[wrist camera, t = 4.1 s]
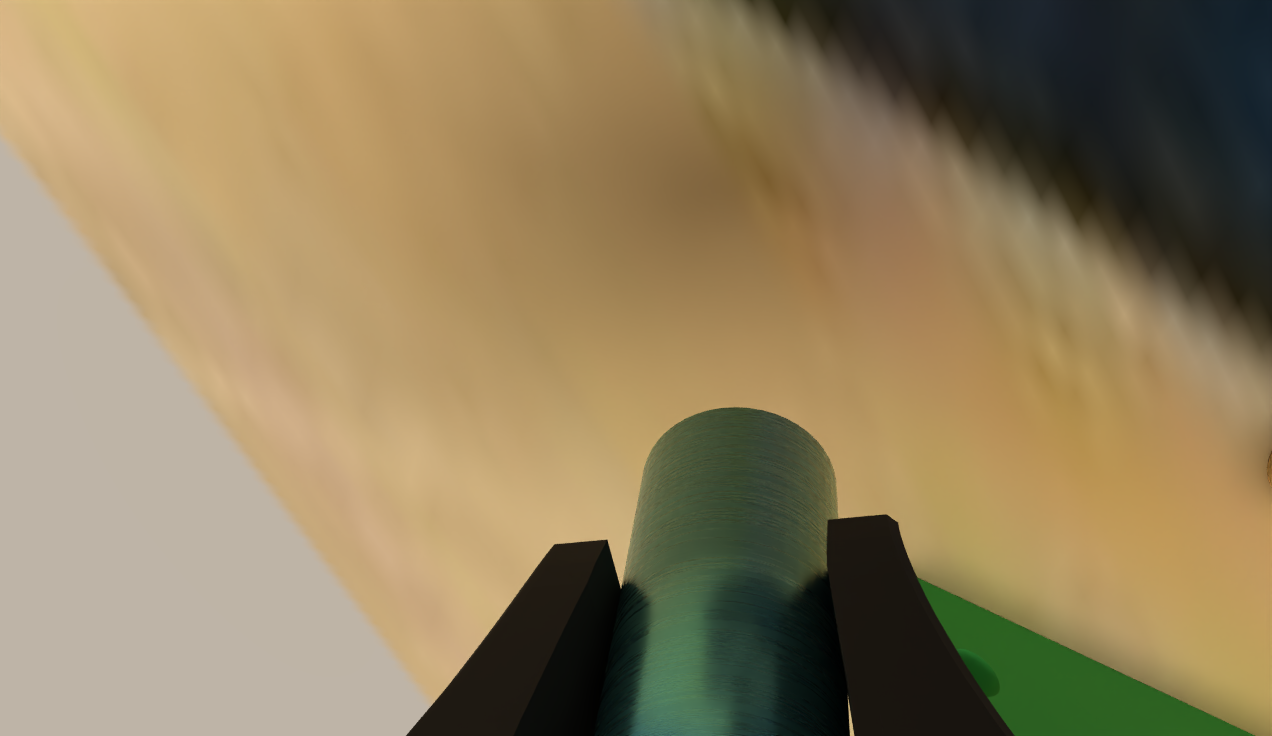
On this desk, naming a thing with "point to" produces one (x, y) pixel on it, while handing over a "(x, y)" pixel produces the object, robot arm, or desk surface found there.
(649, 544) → the long pin
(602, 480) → the desk surface
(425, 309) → the desk surface
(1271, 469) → the short pin
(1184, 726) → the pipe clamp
